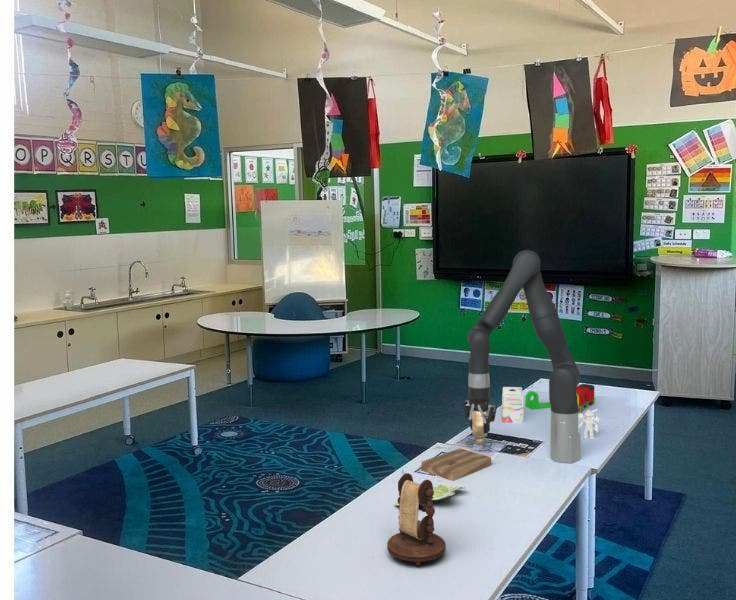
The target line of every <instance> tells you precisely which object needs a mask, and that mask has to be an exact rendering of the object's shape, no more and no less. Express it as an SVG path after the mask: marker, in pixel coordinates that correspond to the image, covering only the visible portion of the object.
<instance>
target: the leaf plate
mask: <svg viewBox="0 0 736 600" xmlns="http://www.w3.org/2000/svg"><path fill="white" fill-rule="evenodd" d="M459 489H463V490H464V489H466V486H465V485H463V486H461V487H460V486H453V487H452V486H447V485H445V484H444V483H440V484H438V486H433V491H434V495H433V496H432V497H433V499H432V501H439V500H444V499H447V498H449V497H451V496H455V495H456V492H455V491H457V490H459ZM393 505H394V506H398V507H400V506H399V504H398V502H395V503H394V504H393Z"/></svg>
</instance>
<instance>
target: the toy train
mask: <svg viewBox="0 0 736 600" xmlns="http://www.w3.org/2000/svg"><path fill="white" fill-rule="evenodd" d="M576 400H577V403H578V413H579V414H582V413H583V411H584V410H586V409H587V408H589V405H591V406H592V405H595V404H596V398H595V385H593V384H588V383H587V384H586V383H581V384H578V386H577V387H576Z"/></svg>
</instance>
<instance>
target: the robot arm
mask: <svg viewBox="0 0 736 600" xmlns="http://www.w3.org/2000/svg"><path fill="white" fill-rule="evenodd" d="M522 289H523V292H524V296H525V301H526V305H527V308H528V309H527V310H528V313H529V317H530V320H531V323H532V326H533V328H534V331H535V334H536V336H537V337H538V339H539V341H540V342H541V344H542V345H543V347H544V348H545V350H546V351H547V353H548V356H549V359H550V361H551V365H552V369H553V370H552V371H551V372H550V374H549V379H548V394H549V395H548V396H549V397H548V398H549V401H548V402H550V405H551V408H550V460H552V461H555V462H556V463H557V462H558V463H564V464H574V463H576V462H578V461H580V460H581V432H579V428H578V426H579V420H578V416H579V412H578V403H577V400H576V387H577V386H579V385H580V382H581V373H580V371H579V368H578V366H577V364H576V361H575V360H574V357H573V356H572V353H571V351H570V348H569V346H568V341H567V338H566V335H565V332H564V329H563V325H562V322H561V319H560V316H559V314H558V310H557V308H556V305H555V304H554V301H553V299H552V297H551V295H550V294H549V292H548V290H547V288H546V286H545V284H544V280H543V276H542V273H541V259H540V257H539V255H538V253H536V252H535V251H533V250H531V249H525V250H521V251H519V252H517V254H516V255H515V256H514V258H513V260H512V266H511V268H510V271H509V273H508V275H507V276H506V279H505V281H504V282H503V284H502V285H501V287H500V288H499V289H498V291H497V292H496V293H495V295H494V296H493V297H492V299H491V300H490V302H489V303H488V305H487V307H486V308H485V310H484V311H483V313H482V315H481V316H480V318H479V319H478V320H477V321H476V322H475V323H474V325H473V326H472V327H471V329H470V330H469V332H468V334H467V338H466V339H467V343H468V344H469V348H470V349H469V350H470V353H469V354H470V355H469V359H468V378H467V379H468V380H467V381H468V386H467V387H468V398H469V399H467V400H463V401H462V407H463V413H464V417H465V418H468V420H469V428H470V430H471V431H472V411H478V412H480V413H481V417H483V421H484V423H483V427H484V433H485V434H486V433H487V434H488V433H489V432H490V429H491V426H490V425H491V423H493V422H495V419H496V416H497V415H496V414H497V407H498V406H497V405H492V404H491V402H490V398H491V397H490V396H491V389H490V388H491V386H490V385H491V384H490V382H491V381H490V380H491V379H490V364H489V363H490V362H489V356H490V348H491V340H490V336H491V335H492V332H493V331H494V330H495V329H498V327H499V326H500V325H501V323H502V321H504V319H505V317H506V316H507V314H508V312H509V310H510V309H511V307H512V305H513V303H514V301H515V300H516V298H517V296H518V295H519V293H520V292H521V291H522ZM486 411H487V414H484V413H483V412H486ZM486 418H487V419H486Z"/></svg>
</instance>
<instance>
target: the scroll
mask: <svg viewBox="0 0 736 600" xmlns="http://www.w3.org/2000/svg"><path fill="white" fill-rule="evenodd" d="M433 487H434V484H433V482H432V481H431V480H430V479H424V480H422V482H421V483H419V482H415V481H414V478H413V475H412V474H411V473H409V472H407V473H404V474H403V475H401V477H400V478H399V479H398V481H397V490H398V495H399V497H398V498H397V503H398V504H399V506H398V507H399V510H398V516H397V517H398V526H399V528H398V530H399V532H398V533H396V534H394V535H392V536H391V537H389V539H388V540H387V543H386V548H387V551H388V553H389V554H390V555H391V556H392V557H394V558H397V559H399V560H403V561H406V562H414V563H415V564H416V566H417V567H419V566H420V565H421V562H428V561H433V560H435V559H438V558H440V557H441V556H443V555H444V553H445V552H446V548H447V547H446V541H445V539H443V537H442V536H440V535H438V534H436V533H434V531H435V526H434V525H435V521H434V519H433V517H434V515H435V514H436V509H435V508H434V507H433V506H434V502H433V501H434V500H432V499H433V497H432V496H433V495H434V491H433ZM425 505H427V506H425ZM419 511H421V512H423V513H425V514H426V515H425V516H424V517H422V519H421V520H419Z"/></svg>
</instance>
